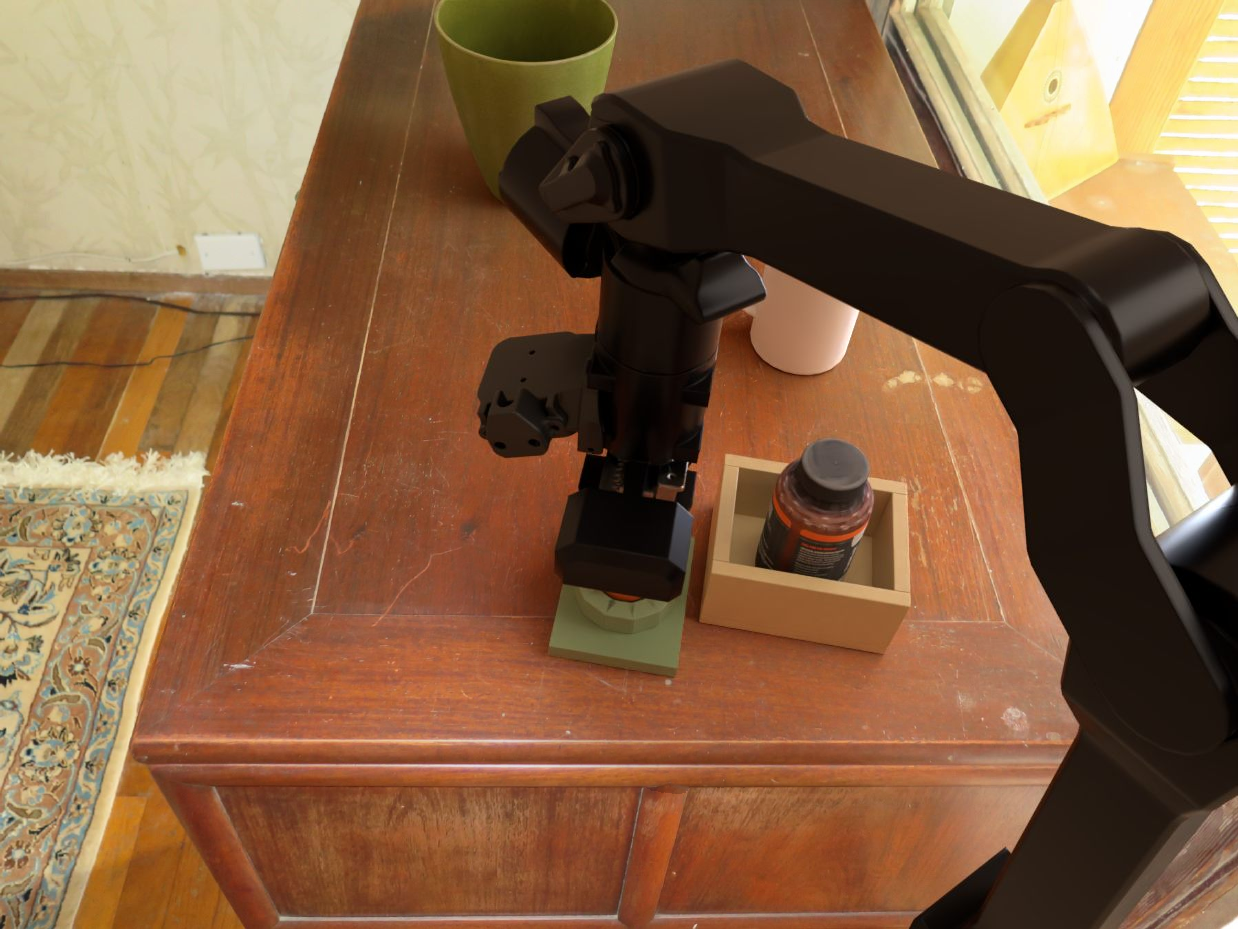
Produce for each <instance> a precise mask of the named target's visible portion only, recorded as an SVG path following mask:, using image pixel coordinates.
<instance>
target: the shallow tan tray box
mask: <svg viewBox="0 0 1238 929" xmlns="http://www.w3.org/2000/svg"><path fill="white" fill-rule="evenodd" d="M788 464H789V463H785V462H781V461H780V462H779V461H773V460H768V459H761V458H755V457H750V456H743V455H737V454H730V453H725V454H724V458H723V463H722V467H721V471H720V475H719V479H718V484H717V489H716V493H715V498H714V502H713V505H712V513H711V523H710V530H709V539H708V546H707V553H706V561H705V568H704V569H705V570H704V578H703V586H702V593H701V601H700V609H699V610H700V611H699V618H698V622H699V623H700V624H701V623H702V624H708V625H713V626H720V627H724V628H731V629H737V630H742V631H748V632H754V633H758V634H759V633H760V634H766V635H772V636H777V637H782V638H788V639H794V640H799V641H806V642H811V643H818V644H823V645H828V646H834V647H840V648H845V649H850V650H858V651H862V652H863V651H864V652H869V653H874V654H880V655H886V653H887V651H888V649H889V647H890V645H891V643H892V641H893V640H894V638H895V636H896V634H897V633H898V630H899V629H900V627H901V625H902V624H903V622H904V620H905V618H906V616H907V614H908V612H909V611H910V609H911V607H912V603H911V602H912V600H911V597H912V596H911V571H910V570H911V568H910V567H911V566H910V540H909V538H910V537H909V510H908V509H909V508H908V483H907V482H902V481H896V480H889V479H882V478H877V477H870V476H868V481H869V483H870V485H871V487H872V490H873V494H874V504H873V510H872V513H871V516H870V519H869V521H868V524H867V526H866V528H865V531H864V533H863V535H862V538H861V541H860V542H859V545H858V547H857V550H856V552H855V554H854V557H853V559H852V561H851V564H850V567H849V569H848V571H847V574H846V576H845V578H844V581H843V582H839V581H834V580H828V579H822V578H816V577H810V576H804V575H798V574H792V573H787V572H781V571H775V570H769V569H763V568H757V567H755V558H756V552H757V548H758V544H759V541H760V537H761V534H762V530H763V527H764V523H765V520H766V517H767V513H768V509H769V506H770V503H771V499H772V495H773V493H774V489H775V486H776V483H777V480H778V478H779V476H780V474H781V472H782V471H783V469H784V468H785V467H786V466H787V465H788Z"/></svg>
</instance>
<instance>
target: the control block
mask: <svg viewBox="0 0 1238 929" xmlns="http://www.w3.org/2000/svg"><path fill="white" fill-rule="evenodd" d="M695 543H696V537H695V536H691V540H690V548H689V555H688V562H687V569H686V575H685V580H684V585H683V589H682V594H681V595H680V596H678V597H677V598H675V599H673V600H672V601H670V602H663V601H657V600H651V599H645V598H641V599H638V600H635V601H622V600H618V599H615V598H613V597H611V596H610V595H608V594H607V593H606V592H605V591H599V590H593V589H587V588H582V587H576V586H570V585H564V584H563V583H562V586H561V591H560V594H559V598H558V599H559V600H558V603H557V607H556V612H555V616H554V620H553V625H552V629H551V633H550V638H549V641H548V650H547V653H548V656H552V657H558V658H563V659H568V660H573V661H574V660H575V661H580V662H584V663H585V662H586V663H590V664H596V665H603V666H608V667H613V668H619V669H625V670H630V671H637V672H641V673H647V674H654V675H658V676H664V677H671V678H676V675H677V672H678V666H679V659H680V652H681V644H682V638H683V637H682V636H683V631H684V622H685V616H686V609H687V603H688V602H687V601H688V594H689V586H690V580H691V572H692V564H693V556H694V550H695V545H696V544H695Z"/></svg>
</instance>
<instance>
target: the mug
mask: <svg viewBox="0 0 1238 929" xmlns="http://www.w3.org/2000/svg"><path fill="white" fill-rule="evenodd" d="M761 279H762V282H763V284H764V286H765V288H766V292H767V296H766V298H765V300H763V301H761V302H759V303H757V304H754V305H752V306H749V307H747V308H745V309H742V310H741V311H743V312H744V313H746V314H747V315H748V316H749V315H750V316H751V317H752V323H751V328H750V334H749V335H750V342H751V344H752V346H753V348H754V351H755V352H756V354H757V355H758V356H759V357H760V358H761V359H762V360H763V361H764V362H766V363H767V364H769V365H770V366H771V367H773V368H776V369H778V370H780V371H782V372H784V373H789V374H794V375H800V376H803V375H804V376H813V375H819V374H822V373H825V372H827V371H831V370H832V369H833V368H834V367H836V366H837V365H838V364H839V363H841V361H842V360H843V358H844V356H845V355H846V352H847V349H848V346H849V343H850V340H851V337H852V335H853V331H854V328H855V325H856V322H857V319H858V316H859V313H860V311H859V310H857V309H855V308H853V307H851V306H849V305H847V304H845V303H843V302H841V301H839V300H837V299H835V298H833V297H831V296H829V295H827V294H825V293H823V292H821V291H819V290H817V289H815V288H813V287H811V286H809V285H807V284H805V283H803V282H801V281H799V280H797V279H795V278H792V277H790V276H788V275H786V274H784V273H782V272H780V271H778V270H776V269H774V268H772V267H770V266H768V265H766V264H765V265H764V269H763V274H762V277H761Z"/></svg>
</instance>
